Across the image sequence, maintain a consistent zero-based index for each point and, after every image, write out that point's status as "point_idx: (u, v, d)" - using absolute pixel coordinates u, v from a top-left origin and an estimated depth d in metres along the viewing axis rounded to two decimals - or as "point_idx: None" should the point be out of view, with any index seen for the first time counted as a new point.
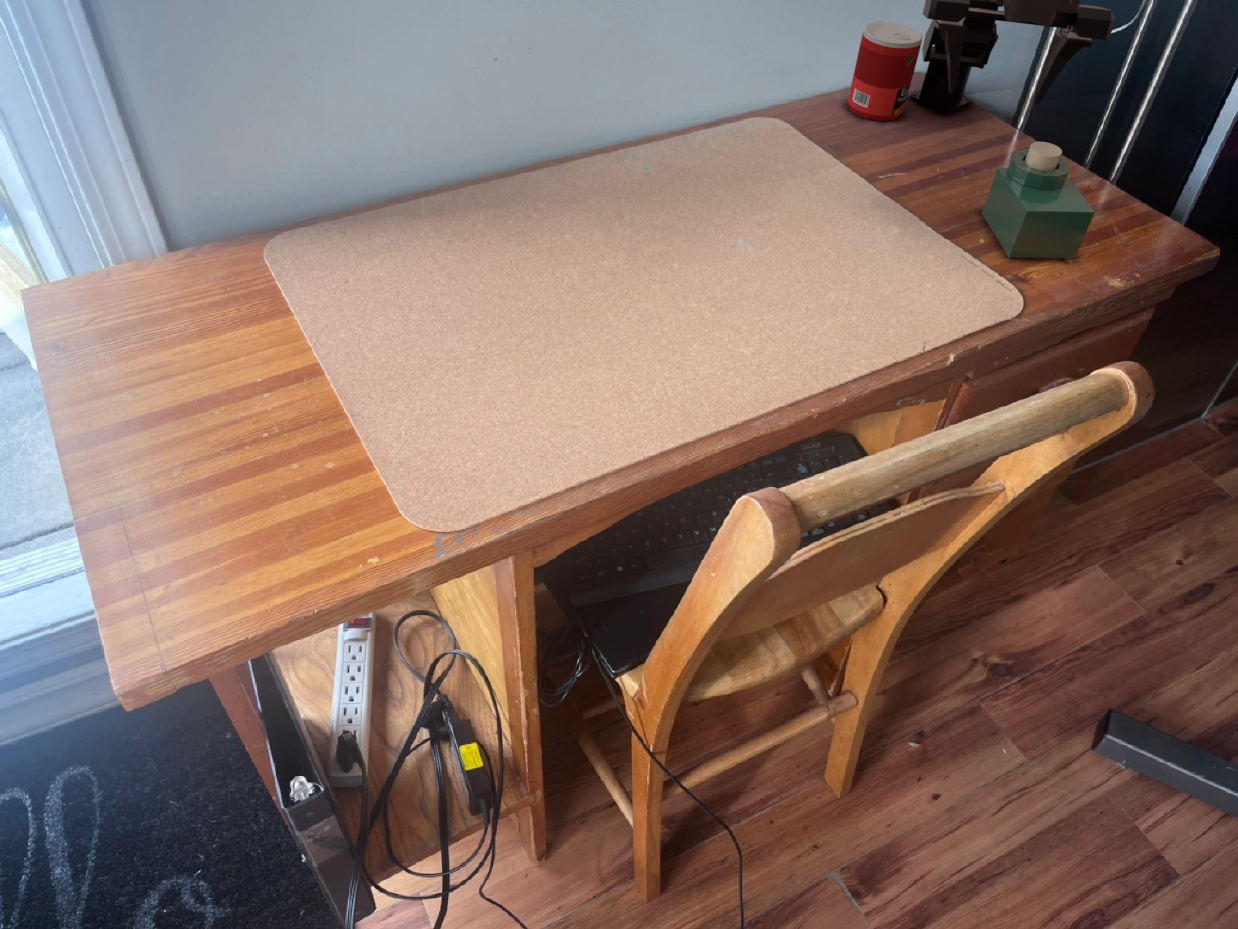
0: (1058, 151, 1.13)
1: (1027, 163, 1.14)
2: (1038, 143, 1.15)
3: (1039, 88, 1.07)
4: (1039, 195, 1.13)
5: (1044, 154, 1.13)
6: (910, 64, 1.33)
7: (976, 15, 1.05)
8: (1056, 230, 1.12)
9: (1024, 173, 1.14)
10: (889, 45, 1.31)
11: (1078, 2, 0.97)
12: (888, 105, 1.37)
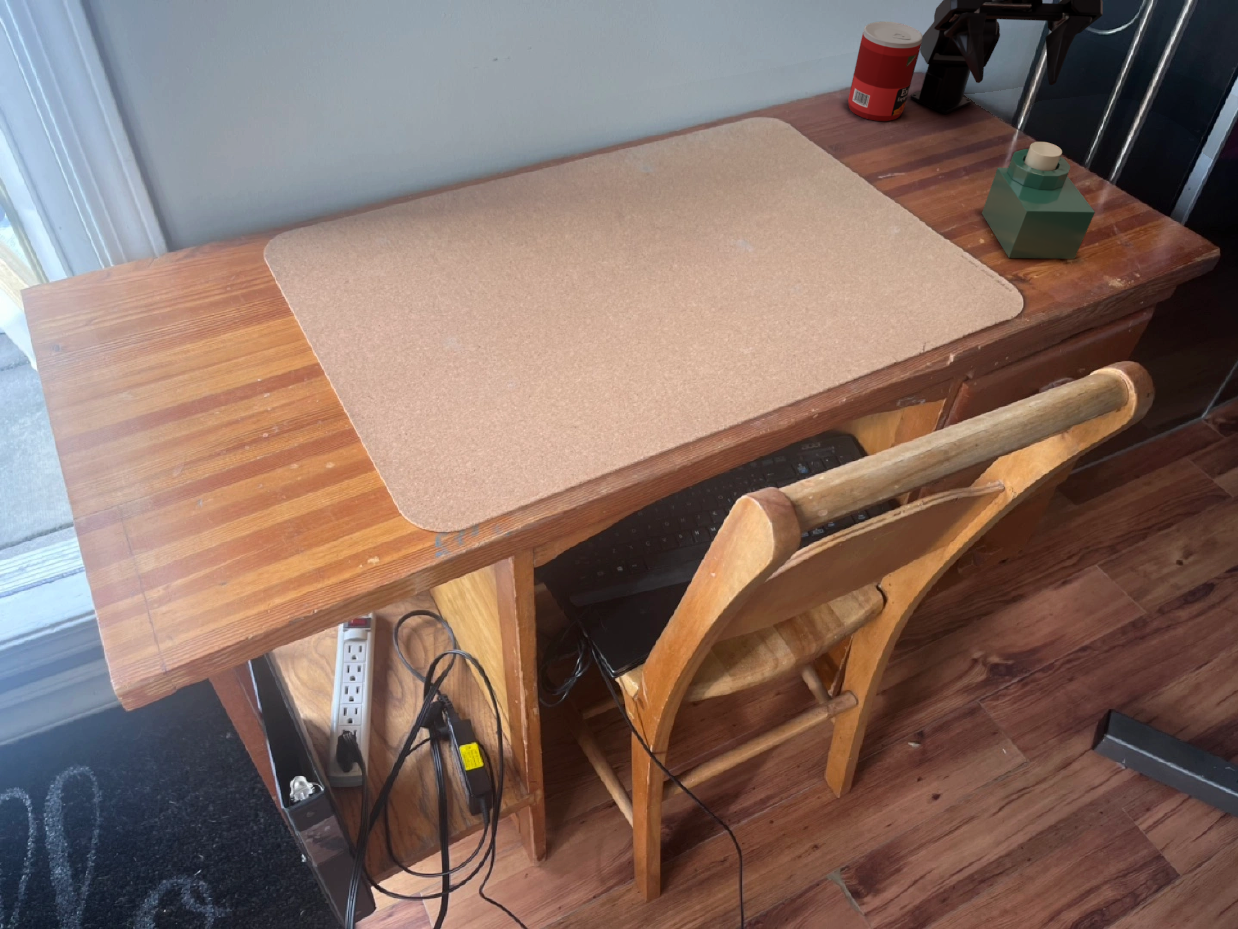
0: (1058, 151, 1.13)
1: (1027, 163, 1.14)
2: (1038, 143, 1.15)
3: (1053, 68, 1.20)
4: (1039, 195, 1.13)
5: (1044, 154, 1.13)
6: (910, 64, 1.33)
7: (985, 13, 1.19)
8: (1056, 230, 1.12)
9: (1024, 173, 1.14)
10: (889, 45, 1.31)
11: None
12: (888, 105, 1.37)
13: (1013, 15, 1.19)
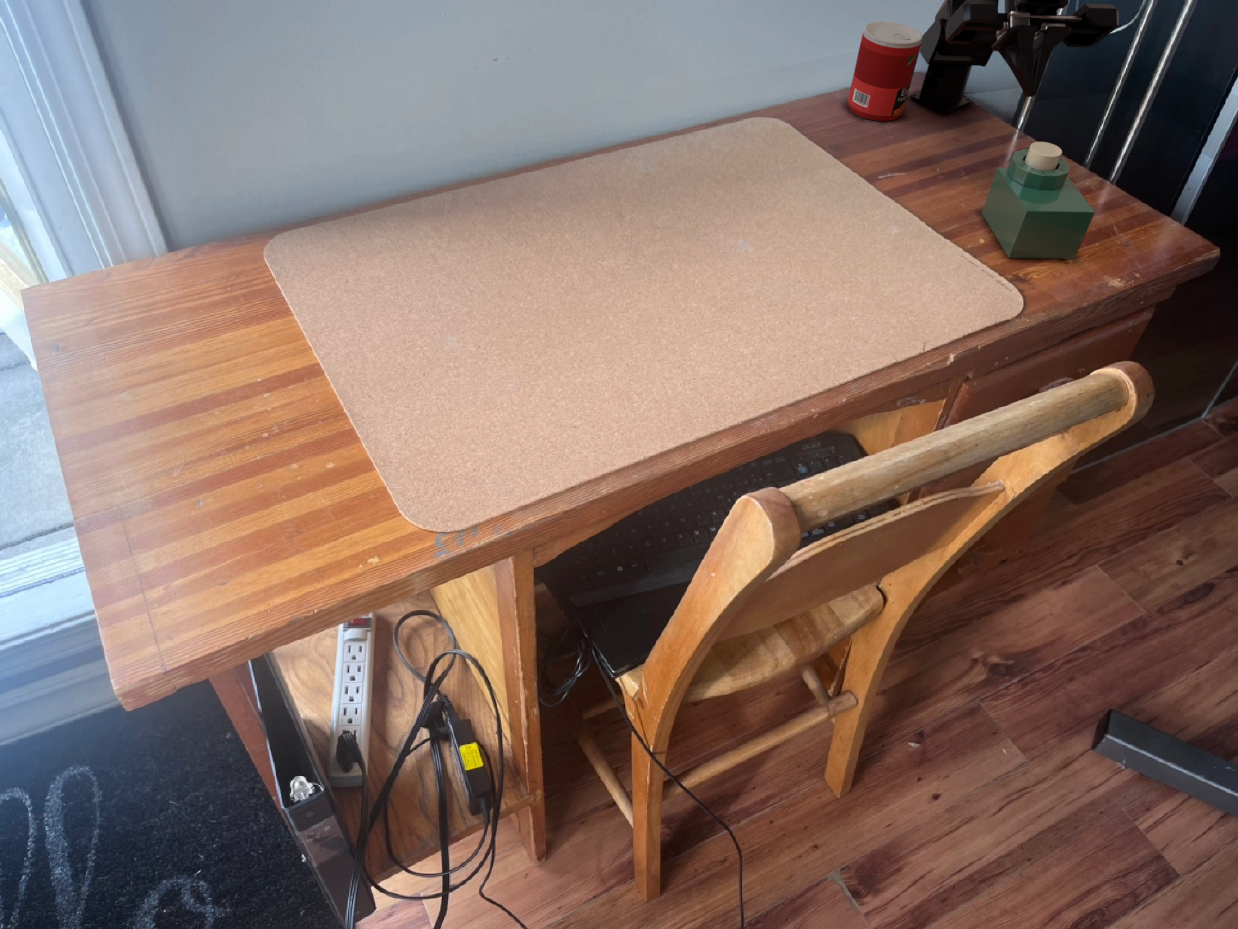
0: (1058, 151, 1.13)
1: (1027, 163, 1.14)
2: (1038, 143, 1.15)
3: None
4: (1039, 195, 1.13)
5: (1044, 154, 1.13)
6: (910, 64, 1.33)
7: (999, 25, 1.16)
8: (1056, 230, 1.12)
9: (1024, 173, 1.14)
10: (889, 45, 1.31)
11: None
12: (888, 105, 1.37)
13: (991, 26, 1.16)
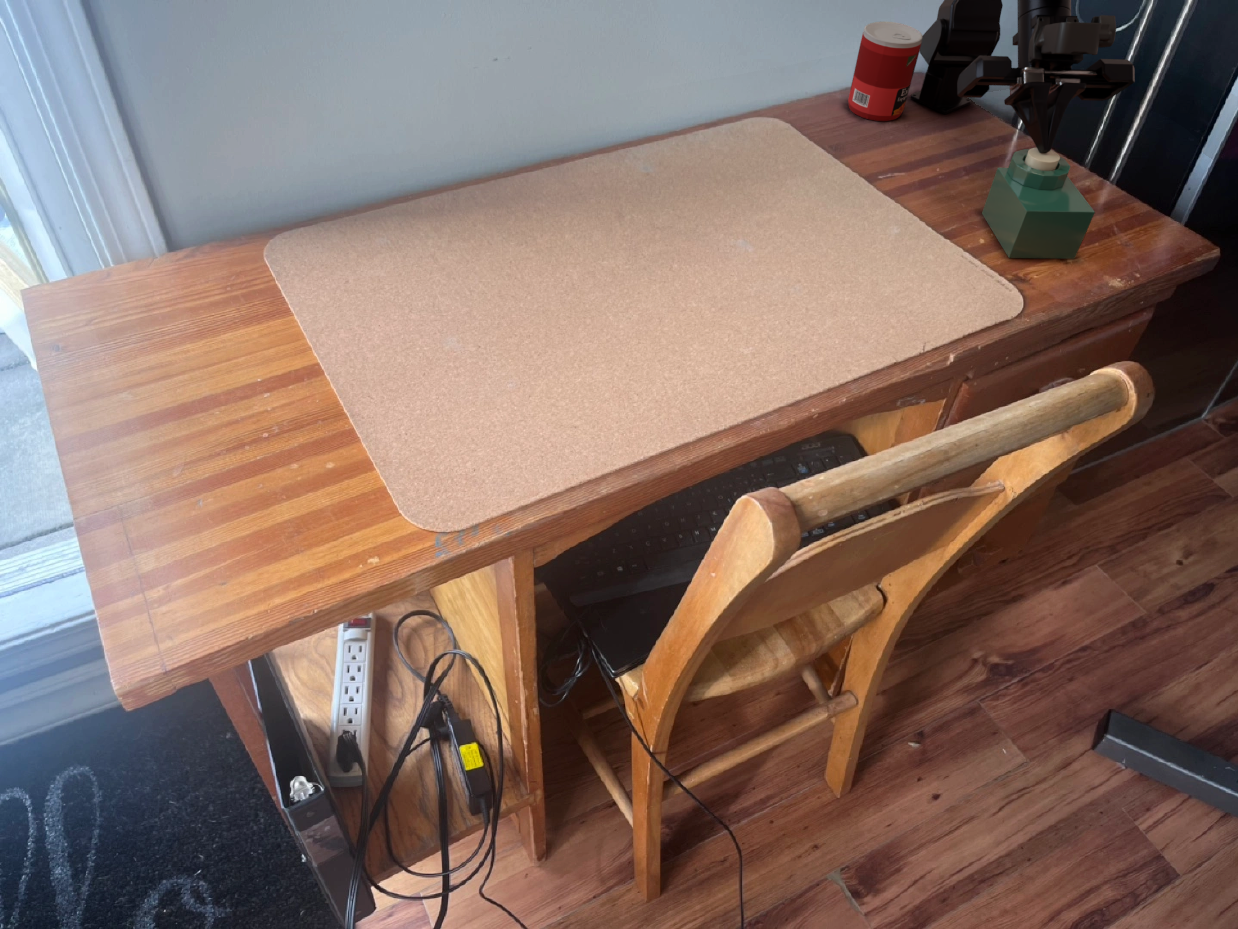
0: (1055, 156, 1.14)
1: None
2: (1036, 149, 1.15)
3: None
4: (1039, 195, 1.13)
5: (1042, 159, 1.13)
6: (910, 64, 1.33)
7: (1012, 80, 1.13)
8: (1056, 230, 1.12)
9: (1024, 173, 1.14)
10: (889, 45, 1.31)
11: (1114, 32, 1.07)
12: (888, 105, 1.37)
13: (1004, 81, 1.13)
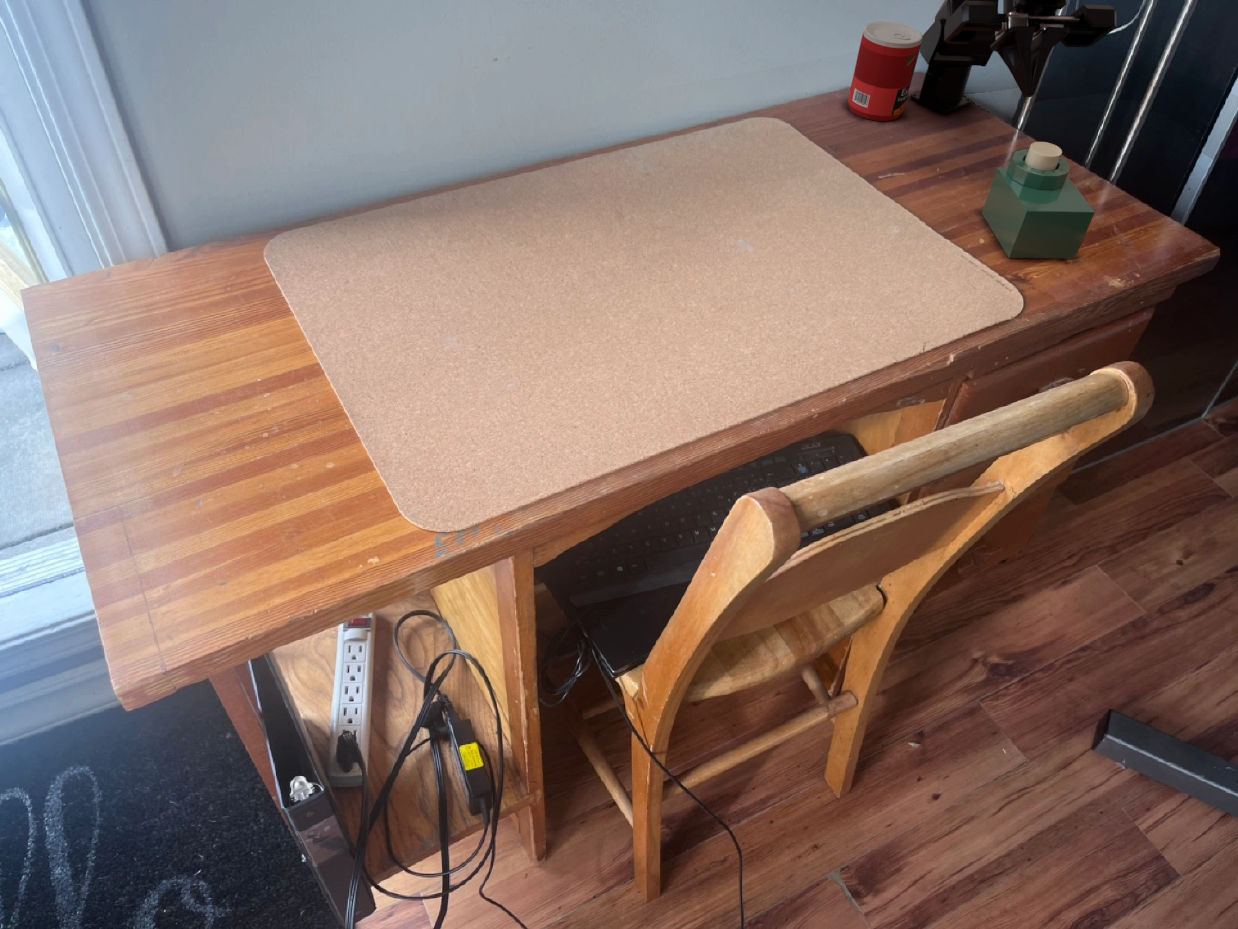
0: (1058, 151, 1.13)
1: (1027, 163, 1.14)
2: (1038, 143, 1.15)
3: None
4: (1039, 195, 1.13)
5: (1044, 153, 1.13)
6: (910, 64, 1.33)
7: (997, 26, 1.16)
8: (1056, 230, 1.12)
9: (1024, 173, 1.14)
10: (889, 45, 1.31)
11: None
12: (888, 105, 1.37)
13: (989, 26, 1.16)
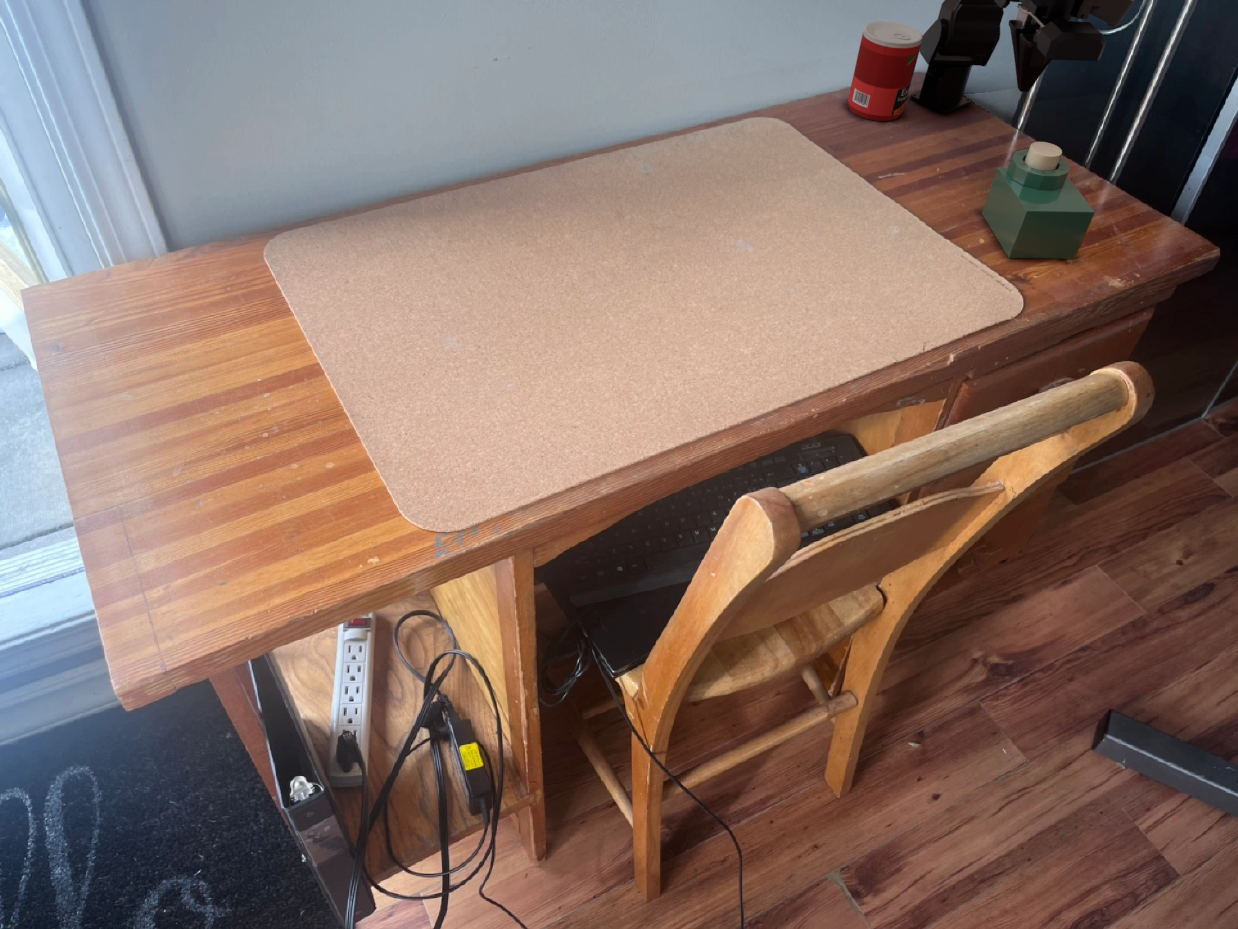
0: (1058, 151, 1.13)
1: (1027, 163, 1.14)
2: (1038, 143, 1.15)
3: None
4: (1039, 195, 1.13)
5: (1044, 153, 1.13)
6: (910, 64, 1.33)
7: None
8: (1056, 230, 1.12)
9: (1024, 173, 1.14)
10: (889, 45, 1.31)
11: None
12: (888, 105, 1.37)
13: None
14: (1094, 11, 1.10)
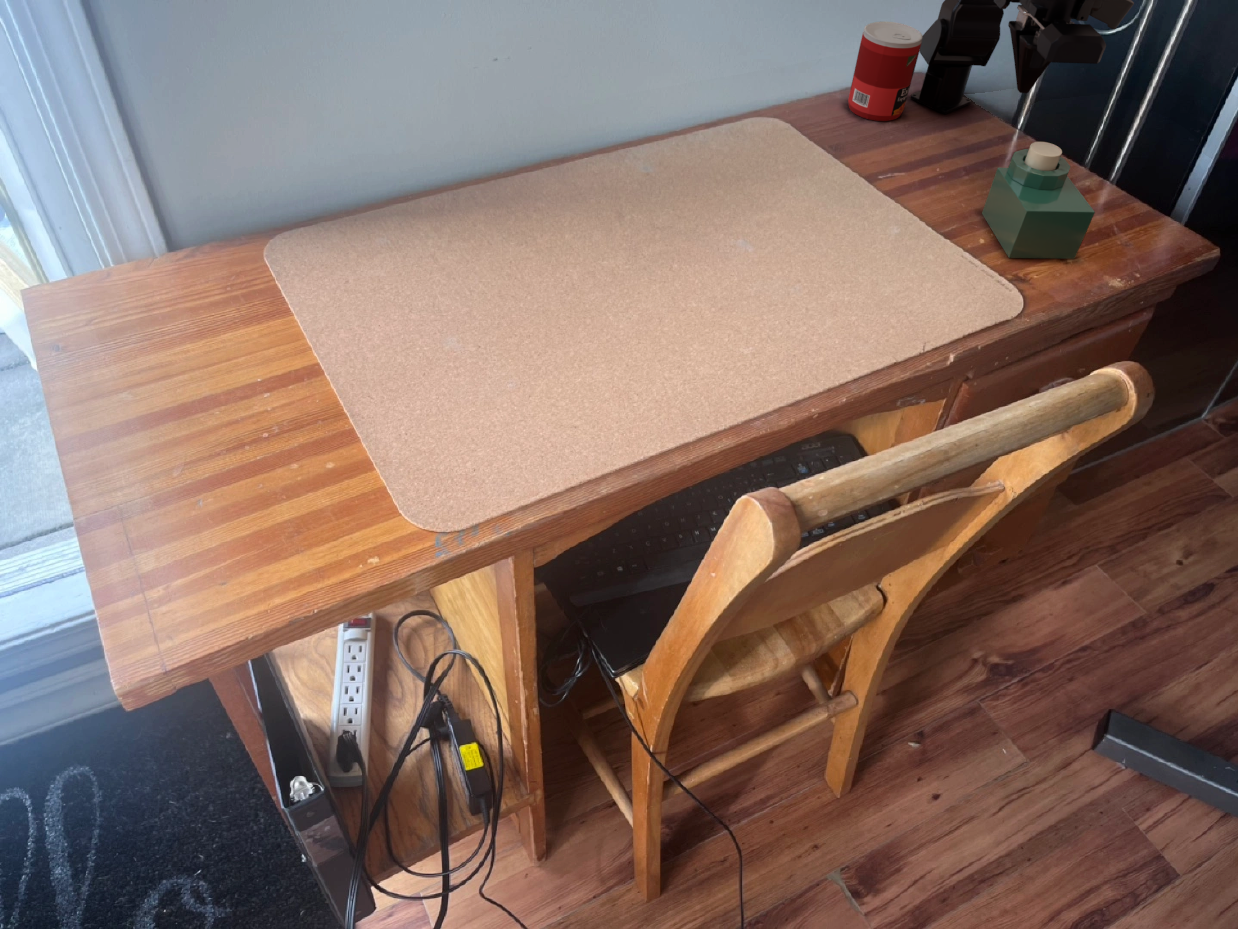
0: (1058, 151, 1.13)
1: (1027, 163, 1.14)
2: (1038, 143, 1.15)
3: None
4: (1039, 195, 1.13)
5: (1044, 153, 1.13)
6: (910, 64, 1.33)
7: None
8: (1056, 230, 1.12)
9: (1024, 173, 1.14)
10: (889, 45, 1.31)
11: None
12: (888, 105, 1.37)
13: None
14: (1094, 13, 1.10)
